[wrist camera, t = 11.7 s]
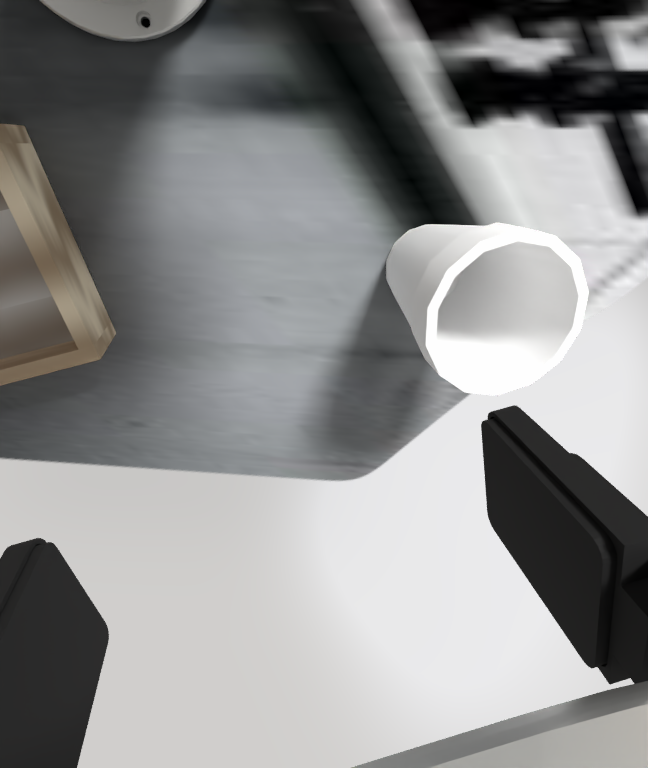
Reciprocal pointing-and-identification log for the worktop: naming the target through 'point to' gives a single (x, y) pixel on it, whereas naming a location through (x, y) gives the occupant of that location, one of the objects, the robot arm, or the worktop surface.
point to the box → (41, 274)
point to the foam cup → (488, 301)
